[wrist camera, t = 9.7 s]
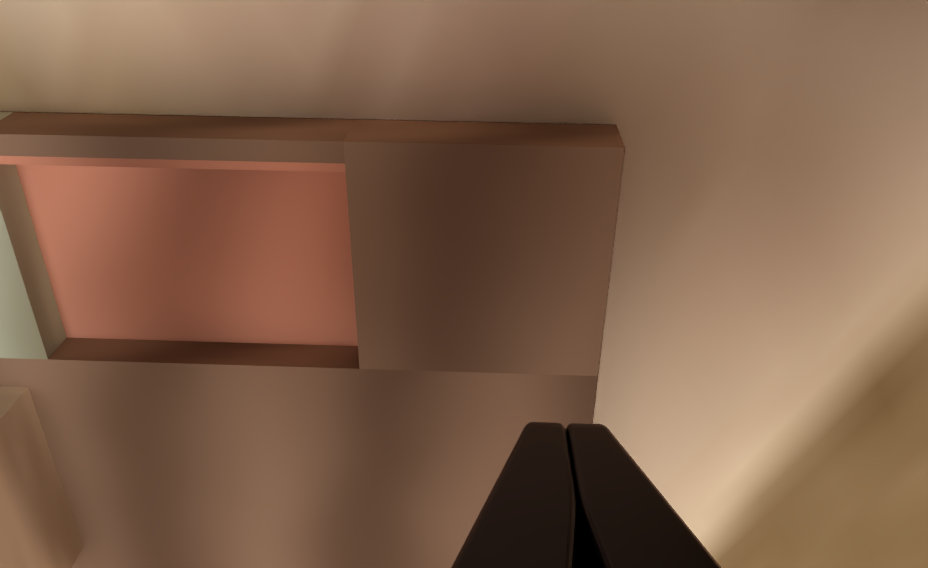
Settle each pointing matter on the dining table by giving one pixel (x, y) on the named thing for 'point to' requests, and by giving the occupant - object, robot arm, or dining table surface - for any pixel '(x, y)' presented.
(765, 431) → the dining table surface
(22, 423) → the maple block
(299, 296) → the trap deck
